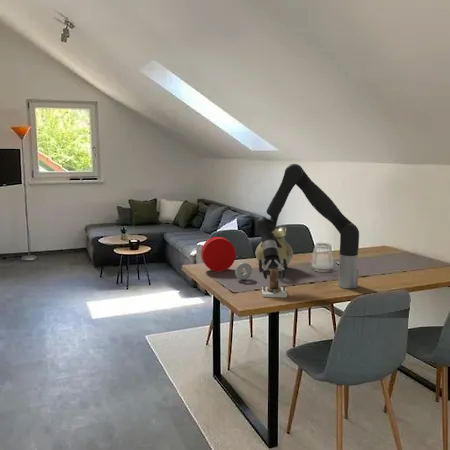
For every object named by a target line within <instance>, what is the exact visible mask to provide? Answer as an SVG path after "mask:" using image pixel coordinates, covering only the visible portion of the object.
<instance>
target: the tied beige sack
mask: <svg viewBox="0 0 450 450" xmlns="http://www.w3.org/2000/svg"><path fill="white" fill-rule="evenodd" d="M287 231H288V229H287V227H286V226H279V227H278V226H276V228H275V230H274V231H273V232H272V233H273V234H274V236H275V241H276V245H277V249H278V255H279V259H280V260H283V259H286V263H287V266H288V265H289V264H290V263H291V261H292V260H293V256H294V251H293V248H292V246H291V244H289V243H288V242H287V240H286V239H285V237H286V235H287ZM254 253H255V257H256V260H257V262H258V263H259V260H262V261H264V254H263V244H262V241H261V242H260V243H259V244H258V245H257V247H256V249H255V252H254ZM280 264H281V265H282V267H283V268H284V266H283V264H282V263H281V262H280ZM265 266H266V265H265V264H264V263H263V265H262V268H263V269H264V268H265ZM266 272H270V268H268V269H267V271H266ZM279 272H281V271H280V270H279Z"/></svg>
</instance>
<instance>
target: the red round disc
mask: <svg viewBox="0 0 450 450" xmlns="http://www.w3.org/2000/svg"><path fill="white" fill-rule="evenodd" d="M236 253H237V252H236V249H235V247H234V245H233V244H232V242H231V241H230V240H228V239H227V238H225V237H222V236H214V237H213V236H212V237H211V238H209V239H208V240H206V241H205V242H204V244H203V245H202V247H201V251H200V256H201V260H202V262H203V263H204V265H205V266H206V268H207V269H209V270H211V271H213V272H217V273H218V272H223V271H226V270H228V269H230V268H231V267H232V266H233V264H234V262H235V260H236V256H237V254H236Z"/></svg>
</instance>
